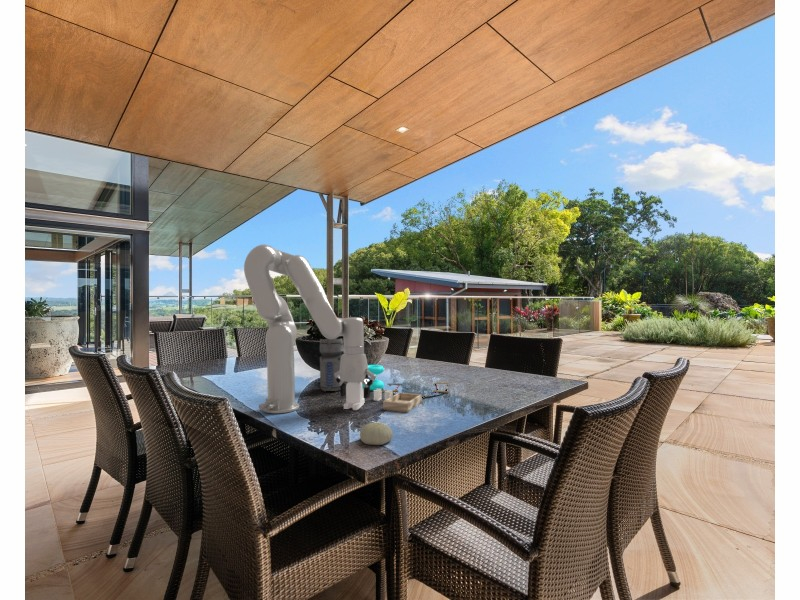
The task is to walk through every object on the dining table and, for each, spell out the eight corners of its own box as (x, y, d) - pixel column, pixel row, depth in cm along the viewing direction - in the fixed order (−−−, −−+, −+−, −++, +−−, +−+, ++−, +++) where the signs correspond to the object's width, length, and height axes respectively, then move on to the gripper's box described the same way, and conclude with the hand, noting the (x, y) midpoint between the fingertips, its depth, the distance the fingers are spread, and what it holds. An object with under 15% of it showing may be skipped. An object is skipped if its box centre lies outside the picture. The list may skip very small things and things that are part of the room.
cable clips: (387, 403, 154) (387, 392, 154) (355, 400, 159) (355, 389, 159) (393, 400, 158) (393, 390, 158) (361, 397, 164) (361, 387, 164)
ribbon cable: (450, 401, 156) (449, 384, 186) (450, 399, 156) (449, 382, 186) (376, 401, 159) (386, 384, 189) (376, 399, 159) (386, 382, 189)
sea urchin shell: (382, 426, 120) (390, 412, 115) (390, 451, 116) (400, 437, 111) (353, 431, 116) (360, 416, 111) (361, 457, 111) (369, 443, 106)
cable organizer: (365, 403, 155) (364, 377, 155) (357, 410, 145) (356, 382, 145) (351, 402, 156) (351, 376, 156) (343, 409, 146) (342, 382, 146)
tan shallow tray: (407, 412, 141) (407, 403, 141) (383, 409, 145) (382, 401, 145) (422, 402, 154) (422, 394, 154) (399, 400, 158) (399, 392, 158)
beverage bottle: (346, 386, 185) (345, 331, 185) (341, 392, 172) (340, 334, 172) (324, 386, 185) (323, 331, 185) (317, 393, 172) (316, 334, 172)
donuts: (360, 364, 184) (382, 363, 185) (361, 386, 184) (383, 385, 185) (361, 368, 174) (384, 367, 175) (362, 391, 174) (385, 390, 176)
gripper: (328, 351, 150) (329, 397, 150) (370, 352, 143) (371, 400, 144) (339, 348, 157) (340, 392, 157) (379, 350, 150) (380, 395, 150)
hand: (355, 396), depth 150 cm, fingers open, 9 cm apart
